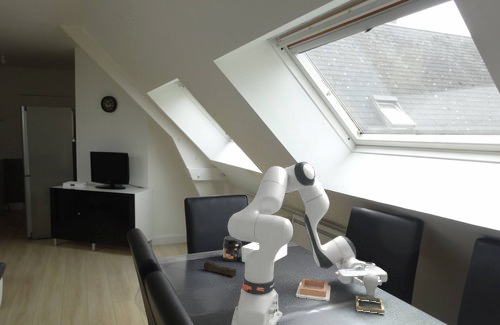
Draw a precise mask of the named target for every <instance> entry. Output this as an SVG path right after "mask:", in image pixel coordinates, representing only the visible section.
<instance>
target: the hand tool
mask: <svg viewBox="0 0 500 325" xmlns="http://www.w3.org/2000/svg"><path fill="white" fill-rule="evenodd" d="M203 269H204V270H206V271H207V272H210V273H213V272H215V273H219V274H222V275H226V276H229V277H231V278H234V277H235V276H237V268H231V267H228V266H222V265H218V264H215V262H212V261H205V262H204V263H203Z"/></svg>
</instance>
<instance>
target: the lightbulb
mask: <svg viewBox="0 0 500 325" xmlns="http://www.w3.org/2000/svg"><path fill="white" fill-rule="evenodd" d="M363 281H364V282H365V283H364V288H365V293H366V297H367V299H368V300H370V301H371V300H373V298H375V291H376V289H377V287H378V286H379V285H378V283H379V281H378V278H377V277H376V275H374V274H372V273H368V274H366V275H364V277H363Z"/></svg>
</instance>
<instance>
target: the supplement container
mask: <svg viewBox="0 0 500 325" xmlns="http://www.w3.org/2000/svg"><path fill="white" fill-rule="evenodd" d="M242 247H243V243H242V241H241V240H239V239H236V238H233V237H231V235H227V236H225V237H224V238H223V244H222V248H223V249H222V259H223V260H224V261H225V262H226V261H227V262H239V261H241V260H242Z"/></svg>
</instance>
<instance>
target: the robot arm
mask: <svg viewBox="0 0 500 325" xmlns="http://www.w3.org/2000/svg"><path fill="white" fill-rule="evenodd" d="M295 191H298V193H299V195H300V198H301V200H302V202H303V204H304V209H305V212H304V215H303V221H304V223H303V224H304V226H305V229H306V233H307V237H308V240H309V244H310V245H311V250H312V253H313V254H312V255H313V259H314V261H315V263H316V265H317V266H318V267H319V268H322V269H325V270H328V269H330V268H331V267H333V266H334V265H335V266H336V268H337V269H338V270H337V271H335V272H334V275H335V276H337V277H338V280H339V282H340V283H341V284H343V285H349V284H351V285H352V284H356V285H359V286H360V287H363V286H364V283H365V282H364V281H363V277H364V275H366V274H368V273H372V274H374V275H376V277H377V278H378V281H379V283H378V286H382V284H383V283H387V281H388V273H387V271H385V270H383V269H382V268H381V267H379V266H377V265H376V264H375V263H373V262H367V261H362V260H359V259H357V258H356V257H357V250H356V247H355V245H354V242H352V241H351V240H350V239H349V238H348V237H347V236H344V235H339V236H336V237H335V238H333V239H331V240H329V241H328V242H326V243H324V244H321V240H320V238H319V234H318V231H317V227H318V224H319V223H320V221H321V220H322V219H323V217H324V216H326V214H327V212H328V210H329V207H330V200H329V196H328V195H327V193H326V192H325V189H324V187H323V185H322V184H321V183H320V181H319V179H317V177H316V172H315V169H314V166H312V165H311V164H310V163H309V162H307V161H301V162H296V164H292V165H290V166H288V167H287V166H286V167H285V168H283V167H281V166H278V165H274V166H270V167H269V168H268V169H267V170H266V172H265V173H264V175H263V176H262V179H261V182H260V184H259V187H258V189H257V191H256V194H255V196H254V198H253V200H252V201H251V202H250V203H249V204H248V205H247V206H246V207H244V208H243V209H241V210H240V211H238V212H235V213H234V214H232V215H231V216H230V217H229V220H228V222H227V230H228V233H229V236H231V237H233V238H236V239H239V240H241V242H248V243H252V242H255V243H259V249H258V250H255V251H253V252H251V253H249V254H248V255H247V257H246V259H245V262H244V276H243V281H242V287H241V289H240V295H239V296H240V297H239V301H238V302H237V306H235V307H234V311H233V316H232V320H231V325H277V324H278V323H277V322H280V321H281V319H282V318H281V317H283V312H282V311H280V310H279V294H278V293H277V291H276V290H275V284H276V283H275V282H276V281H275V277H274V271H275V270H274V269H275V268H274V267H275V262H274V260H275V257H276V254H277V252H278V251H279V250H280V249H281V248H282V247H283V246H284V245H286V244H287V245H288V243H289V242H291V240H292V238H293V235H294V228H293V224H292V222H291V221H290V219H288V218H286V217H283V216H280V215H274V214H275V213H277V212H278V211H280V209H281V208H282V205H283V202H284V199H285V195H286V194H289V193H293V192H295ZM364 287H365V286H364Z"/></svg>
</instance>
